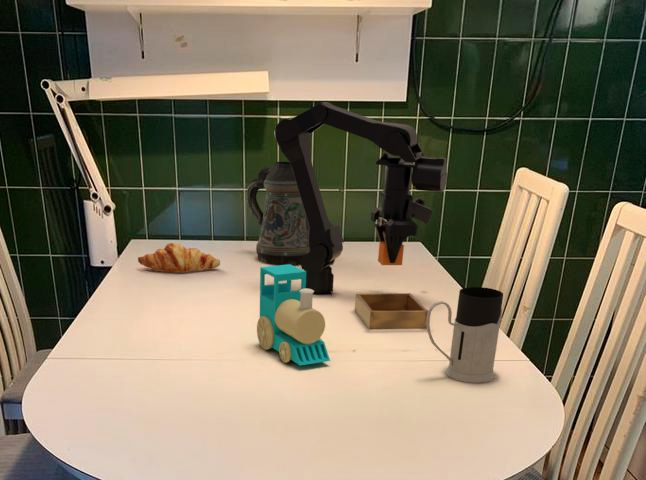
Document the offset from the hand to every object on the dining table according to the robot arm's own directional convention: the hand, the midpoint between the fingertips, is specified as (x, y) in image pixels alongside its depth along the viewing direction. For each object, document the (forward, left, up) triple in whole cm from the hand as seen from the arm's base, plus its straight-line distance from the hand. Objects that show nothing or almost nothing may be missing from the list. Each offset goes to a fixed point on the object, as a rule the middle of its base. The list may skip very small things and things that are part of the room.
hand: (389, 260), depth 186 cm
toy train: (-27, -35, -10) cm, 45 cm away
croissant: (-47, +33, -10) cm, 58 cm away
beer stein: (-19, +45, -10) cm, 50 cm away
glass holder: (+1, -48, -10) cm, 49 cm away
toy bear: (0, 0, -1) cm, 1 cm away
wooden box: (-3, -14, -10) cm, 18 cm away
